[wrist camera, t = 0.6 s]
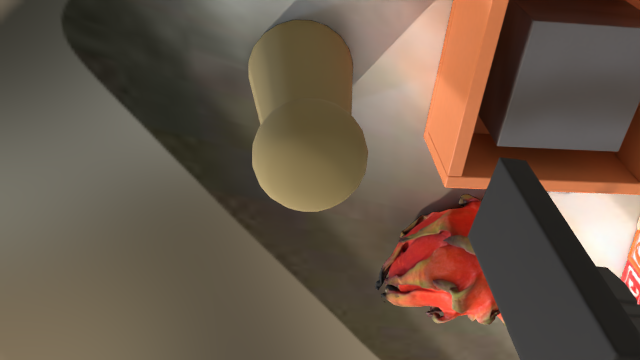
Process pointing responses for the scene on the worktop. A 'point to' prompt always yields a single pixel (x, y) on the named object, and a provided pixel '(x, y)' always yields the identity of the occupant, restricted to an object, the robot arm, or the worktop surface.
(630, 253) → the stack of blocks
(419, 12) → the worktop surface
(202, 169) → the worktop surface
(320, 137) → the cork
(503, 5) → the crate
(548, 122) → the grey block
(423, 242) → the dragon fruit
